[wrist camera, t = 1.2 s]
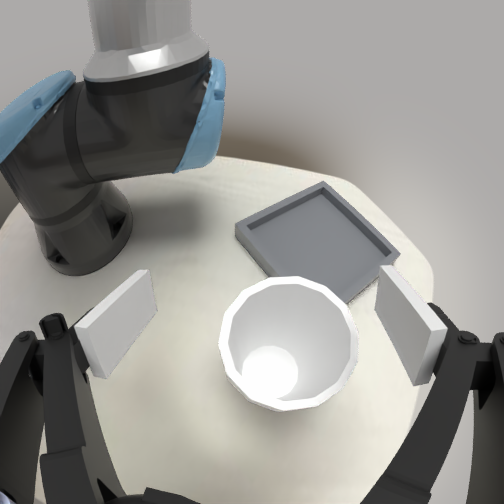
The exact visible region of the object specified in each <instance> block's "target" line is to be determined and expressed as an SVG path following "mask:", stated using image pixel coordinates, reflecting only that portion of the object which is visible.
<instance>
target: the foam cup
mask: <svg viewBox="0 0 504 504" xmlns="http://www.w3.org/2000/svg"><path fill="white" fill-rule="evenodd" d="M218 345H219V350H220V354H221V358H222V361H223V365H224V368H225V371H226V375H227V378H228V380H229V381H230V382H231V384H232V385H233V386H234V387H235V388H236V389H237V390H238V391H239V392H240V393H241V394H242V395H243V396H244V397H245V398H246V399H247V400H248V401H249V402H251V403H254V404H256V405H259V406H262V407H265V408H268V409H271V410H273V411H276V412H283V411H291V410H299V409H307V408H312V407H316V406H318V405H320V404H321V403H323V402H324V401H326V400H327V399H329V398H330V397H332V396H333V395H334V394H336V393H337V392H339V391H340V390H341V389H343V388H344V386H345V385H346V383H347V381H348V379H349V377H350V375H351V374H352V372H353V370H354V368H355V366H356V364H357V362H358V345H359V331H358V329H357V327H356V324H355V322H354V320H353V318H352V316H351V313H350V311H349V309H348V307H347V305H346V304H345V303H344V302H343V301H342V300H340V299H339V298H338V297H337V296H336V295H335V294H334V293H333V292H332V291H330V290H329V289H328V288H327V287H326V286H324V285H321V284H318V283H316V282H313V281H310V280H307V279H305V278H302V277H299V276H292V277H269V278H267V279H265V280H263V281H261V282H259V283H257V284H255V285H253V286H251V287H249V288H247V289H244V290H243V291H242V292H241V293H240V295H239V296H238V297H237V298H236V300H235V301H234V302H233V303H232V304H231V306H230V307H229V308H228V309H227V311H226V312H225V313H224V318H223V322H222V327H221V332H220V337H219V341H218Z"/></svg>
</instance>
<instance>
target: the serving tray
mask: <svg viewBox="0 0 504 504" xmlns="http://www.w3.org/2000/svg"><path fill="white" fill-rule="evenodd" d="M235 236H236V238H237V239H238V240H239V241H240V242H241V244H242V245H243V246H244V247H245V248H246V250H247V251H248V252H249V253H250V255H251V256H252V257H253V258H254V259H255V261H256V262H257V263H258V264H259V265H260V267H261V268H262V269H263V270H264V271H265V273H266V274H267V275H268V276H269V277H292V276H299V277H302V278H305V279H307V280H310V281H313V282H316V283H318V284H321V285H324V286H326V287H327V288H328V289H329V290H330V291H332V292H333V293H334V294H335V295H336V296H337V297H338V298H339V299H340V300H342V301H343V302H344V303H345V304H347V303H349V302H350V301H351V300H352V299H353V298H355V297H356V296H357V295H358V294H359V293H360V292H362V291H363V290H364V289H365V288H366V287H367V286H369V285H370V284H371V283H372V282H373V281H374V280H375V279H377V278H378V277H379V270H380V266H383V265H392V264H393V263H394V262H395V261H396V259H397V258H398V257H399V256H400V253H399V252H398V250H397V249H396V248H395V247H394V246H393V245H392V244H391V243H390V242H389V241H388V240H387V239H386V238H385V237H384V236H383V235H382V234H381V233H380V232H379V231H378V230H377V229H376V228H375V227H374V226H373V225H372V224H370V223H369V222H368V221H367V220H366V219H365V218H364V217H363V216H362V215H361V214H360V213H359V212H358V211H357V210H356V209H355V208H354V207H352V206H351V205H350V204H349V203H348V202H347V201H346V200H345V199H344V198H343V197H341V196H340V195H339V194H338V193H337V192H336V191H335V190H334V189H332V188H331V187H330V186H329V185H328V184H327V183H326V182H324V181H322V182H320V183H318V184H316V185H313V186H311V187H309V188H307V189H305V190H303V191H301V192H299V193H297V194H295V195H292V196H290V197H288V198H286V199H284V200H282V201H280V202H278V203H276V204H274V205H272V206H270V207H268V208H266V209H264V210H262V211H260V212H258V213H256V214H254V215H252V216H250V217H248V218H246V219H244V220H242V221H240V222H238V223H236V224H235Z"/></svg>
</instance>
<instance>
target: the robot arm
mask: <svg viewBox="0 0 504 504" xmlns="http://www.w3.org/2000/svg"><path fill="white" fill-rule="evenodd" d="M88 7H89V15H90V22H91V28H92V34H93V40H94V46H95V51H94V54H93V55H92V57H91V58H90V60H89V62H88V63H87V65H86V66H85V68H84V70H83V77H84V81H82V82H78V83H76V82H75V80H76V76H75V75H74V74H73V73H72V72H71V71H70V70H66V71H61V72H58V73H56V74H54V75H52V76H49V77H47V78H46V79H44V80H42V81H40V82H39V83H37V84H35V85H34V86H32V87H31V88H30V89H28V90H26V91H25V92H24V93H22V94H21V95H20V96H19V97H18V98H16V99H15V100H14V101H13V102H11V103H10V104H9V105H8V106H7V107H6V108H5V109H4V110H3V111H2V112H1V113H0V171H1V173H2V174H3V176H4V178H5V179H6V181H7V182H8V184H9V186H10V187H11V189H12V190H13V192H14V194H15V195H16V197H17V198H18V200H19V201H20V203H21V204H22V206H23V207H24V209H25V210H26V212H27V213H28V214H29V216H30V217H31V219H32V220H33V222H34V225H35V229H36V233H37V237H38V240H39V244H40V247H41V250H42V253H43V255H44V256H45V258H46V259H47V261H48V262H49V263H50V264H51V265H52V266H53V268H54V269H56V270H57V271H58V272H60V273H63V274H66V275H72V276H77V275H84V274H88V273H91V272H93V271H95V270H98V269H99V268H101V267H103V266H104V265H106V264H107V263H109V262H110V261H111V260H112V259H113V258H114V257H115V256H116V255H117V254H118V253H119V252H120V251H121V249H122V248H123V247H124V245H125V244H126V242H127V240H128V238H129V236H130V233H131V229H132V223H133V218H132V213H131V210H130V207H129V204H128V202H127V200H126V198H125V196H124V195H123V194H122V193H121V192H120V191H119V190H118V189H117V187H116V186H115V185H114V184H113V183H112V182H111V181H112V180H119V179H125V178H132V177H139V176H147V175H155V174H163V173H172V174H175V173H178V172H179V171H182V170H188V169H195V168H201V167H204V166H206V165H207V164H209V163H210V162H211V161H212V160H213V159H214V158H215V156H216V153H217V151H218V147H219V142H220V137H221V131H222V124H223V116H224V99H223V98H224V94H225V86H226V77H225V75H226V74H225V67H224V63H223V62H222V61H221V60H218V59H216V58H209V44H208V43H207V42H206V41H205V40H204V39H203V38H201V37H200V36H199V35H198V34H196V33H195V32H194V31H192V29H191V0H88ZM157 311H158V310H157V305H156V301H155V296H154V291H153V286H152V281H151V275H150V270H137V271H136V272H135V273H134V274H133V275H131V276H130V277H129V278H128V279H127V280H125V281H124V282H123V283H122V284H121V285H120V286H118V287H117V288H116V289H115V290H114V291H113V292H112V293H110V294H109V295H108V296H107V297H106V298H105V299H104V300H102V301H101V302H100V303H99V304H98V305H97V306H96V307H94V308H92V309H90V310H89V311H88V312H87V313H86V314H85V315H83V316H82V317H81V318H80V319H79V320H78V321H77V322H76V323H75V324H74V325H72V326H71V327H70V328H69V329H68V327H67V324H66V321H65V318H64V316H63V314H61V313H54V314H50V315H47V316H46V317H44V318H42V319H41V320H40V322H39V325H40V327H41V330H42V332H43V335H44V337H45V340H37V337H36V335H35V333H34V332H33V331H23V332H21V333H19V335H17V336H16V337H15V338H14V340H13V342H12V343H11V345H10V347H9V349H8V351H7V352H6V354H5V356H4V358H3V360H2V362H1V364H0V504H33V502H34V494H35V481H36V472H37V463H38V456H39V449H40V443H41V437H42V432H43V426H44V423H45V436H46V445H47V454H41V456H40V469H41V476H42V482H43V488H44V493H45V498H46V503H47V504H200V503H198V502H195V501H193V500H190V499H188V498H186V497H183V496H181V495H177V494H173V493H168V492H164V491H160V490H156V489H152V488H149V487H146V490H145V492H144V494H136V495H126V494H125V492H124V490H123V489H122V487H121V485H120V482H119V480H118V477H117V475H116V472H115V469H114V467H113V464H112V461H111V458H110V455H109V453H108V450H107V447H106V443H105V440H104V437H103V434H102V430H101V427H100V424H99V420H98V416H97V413H96V409H95V405H94V401H93V396H92V392H91V388H90V383H89V378H88V375H87V373H86V370H87V369H88V368H89V366H90V368H91V371H92V373H93V375H94V376H96V377H100V378H104V379H107V378H108V377H109V375H110V374H111V372H112V371H113V370H114V368H115V367H116V366H117V364H118V363H119V361H120V360H121V359H122V357H123V356H124V355H125V353H126V352H127V351H128V349H129V348H130V347H131V345H132V344H133V343H134V341H135V340H136V339H137V337H138V336H139V335H140V333H141V332H142V331H143V329H144V328H145V327H146V325H147V324H148V323H149V321H150V320H151V319H152V318H153V316H154V315H155V314H156V312H157ZM375 311H376V313H377V315H378V317H379V319H380V320H381V322H382V324H383V326H384V328H385V330H386V332H387V334H388V336H389V338H390V340H391V341H392V343H393V345H394V347H395V349H396V351H397V353H398V355H399V357H400V359H401V361H402V363H403V366H404V368H405V370H406V372H407V374H408V376H409V378H410V380H411V382H412V384H413V386H417V385H422V384H427V383H429V381H430V379H431V376H432V373H434V375H435V376H436V379H435V381H434V384H433V386H432V388H431V390H430V392H429V395H428V397H427V399H426V401H425V403H424V405H423V407H422V409H421V411H420V413H419V415H418V417H417V419H416V421H415V422H414V425H413V426H412V428H411V430H410V431H409V433H408V435H407V437H406V438H405V440H404V442H403V444H402V445H401V447H400V449H399V450H398V452H397V453H396V455H395V457H394V458H393V460H392V461H391V463H390V464H389V466H388V467H387V469H386V470H385V472H384V473H383V474H382V475H381V477H380V478H379V479H378V481H377V482H376V484H375V485H374V486H373V488H372V489H371V490H370V492H369V493H368V494H367V495H366V497H365V498H364V499H363V501H362V502H361V503H360V504H428V502H429V500H430V498H431V493H430V490H431V488H432V486H433V484H434V482H435V480H436V478H437V476H438V474H439V472H440V470H441V467H442V465H443V463H444V461H445V459H446V456H447V454H448V451H449V449H450V447H451V444H452V442H453V439H454V436H455V434H456V431H457V429H458V426H459V423H460V420H461V417H462V414H463V411H464V407H465V404H466V401H467V397H468V394H469V390H473V397H474V438H473V455H472V465H471V474H470V482H469V489H468V495H467V500H466V504H504V332H501V333H497V334H496V335H495V336H494V339H493V342H492V343H480V341H479V339H478V337H477V336H476V335H474V334H473V333H470V332H468V331H459V330H458V328H457V327H456V326H455V325H454V324H453V322H452V321H451V320H450V319H448V317H447V316H446V315H445V314H444V312H443V311H442V310H441V309H440V308H439V307H438V306H436V305H434V304H433V303H426V302H425V301H424V300H423V298H422V297H421V296H420V295H419V294H418V293H417V292H416V290H415V289H414V288H413V287H412V286H411V285H410V284H409V283H408V282H407V280H406V279H405V278H404V277H403V276H402V275H401V274H400V273H399V272H398V271H397V270H396V269H395V267H394V266H393V265H383V266H380V270H379V280H378V288H377V296H376V303H375Z"/></svg>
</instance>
